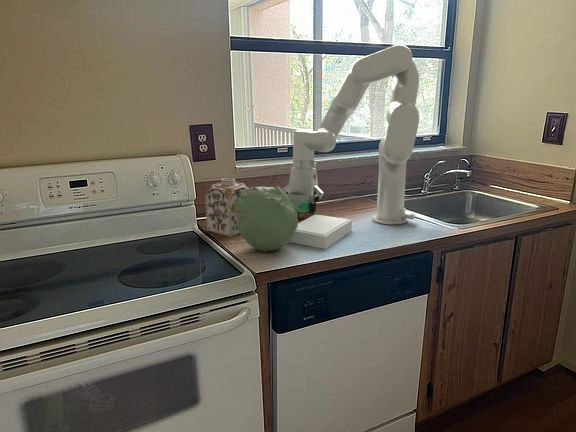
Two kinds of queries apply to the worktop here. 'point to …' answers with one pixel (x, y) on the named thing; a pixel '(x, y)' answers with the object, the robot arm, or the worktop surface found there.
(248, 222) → the cabbage
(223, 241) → the worktop surface
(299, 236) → the base
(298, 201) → the food container
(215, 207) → the decorative jar
